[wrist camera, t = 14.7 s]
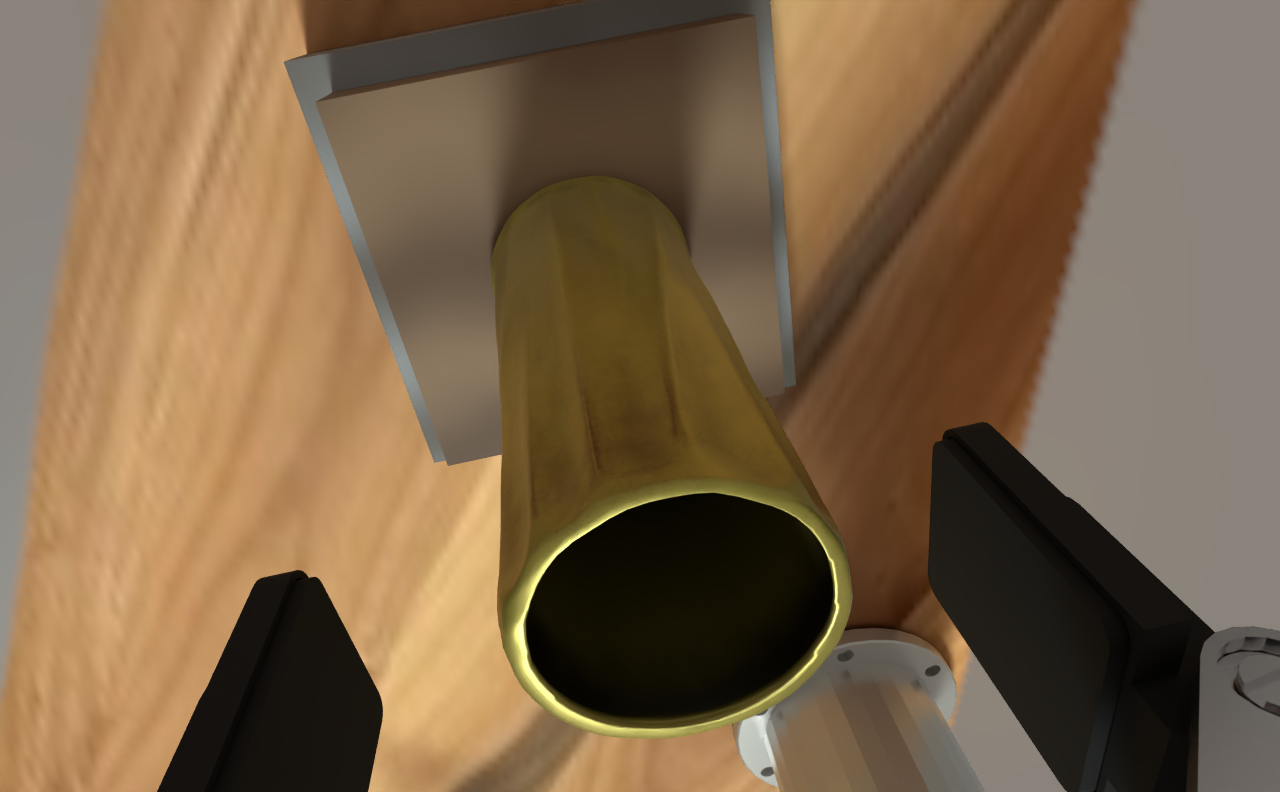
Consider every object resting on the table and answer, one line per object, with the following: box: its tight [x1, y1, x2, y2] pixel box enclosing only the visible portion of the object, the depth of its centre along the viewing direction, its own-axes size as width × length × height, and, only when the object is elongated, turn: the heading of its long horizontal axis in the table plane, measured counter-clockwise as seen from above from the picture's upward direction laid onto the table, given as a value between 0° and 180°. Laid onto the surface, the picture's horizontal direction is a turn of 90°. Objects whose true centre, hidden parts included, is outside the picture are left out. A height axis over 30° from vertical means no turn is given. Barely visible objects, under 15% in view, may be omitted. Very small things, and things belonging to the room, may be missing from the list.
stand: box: [284, 0, 796, 466], centre depth 25 cm, size 14×14×4 cm
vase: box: [491, 176, 853, 739], centre depth 17 cm, size 6×6×14 cm
